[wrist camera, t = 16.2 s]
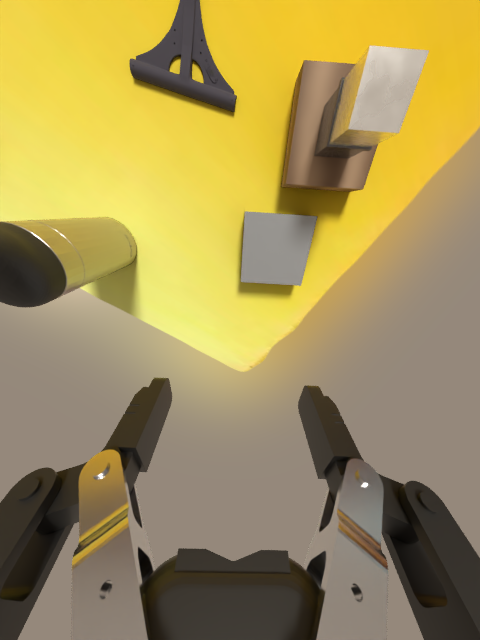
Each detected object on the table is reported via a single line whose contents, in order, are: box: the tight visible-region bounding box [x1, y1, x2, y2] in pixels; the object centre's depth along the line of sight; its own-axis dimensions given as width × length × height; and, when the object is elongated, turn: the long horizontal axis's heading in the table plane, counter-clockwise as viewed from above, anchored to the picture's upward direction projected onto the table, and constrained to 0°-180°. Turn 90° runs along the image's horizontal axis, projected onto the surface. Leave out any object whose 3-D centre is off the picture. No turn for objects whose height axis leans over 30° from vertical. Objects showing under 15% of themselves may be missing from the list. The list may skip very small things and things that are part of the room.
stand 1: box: [241, 212, 317, 286], centre depth 35 cm, size 12×12×4 cm
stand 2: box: [281, 60, 378, 192], centre depth 27 cm, size 12×12×4 cm
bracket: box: [130, 0, 237, 112], centre depth 22 cm, size 14×15×3 cm
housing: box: [314, 46, 429, 159], centre depth 21 cm, size 5×5×10 cm
